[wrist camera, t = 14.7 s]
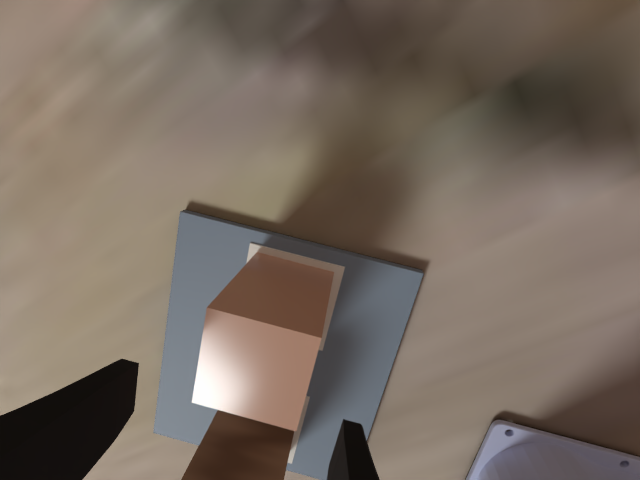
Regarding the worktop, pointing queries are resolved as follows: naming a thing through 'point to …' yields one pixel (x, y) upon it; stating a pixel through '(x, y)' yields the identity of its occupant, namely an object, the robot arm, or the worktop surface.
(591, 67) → the worktop surface
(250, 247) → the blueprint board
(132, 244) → the worktop surface
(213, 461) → the walnut pillar
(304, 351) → the terracotta pillar
